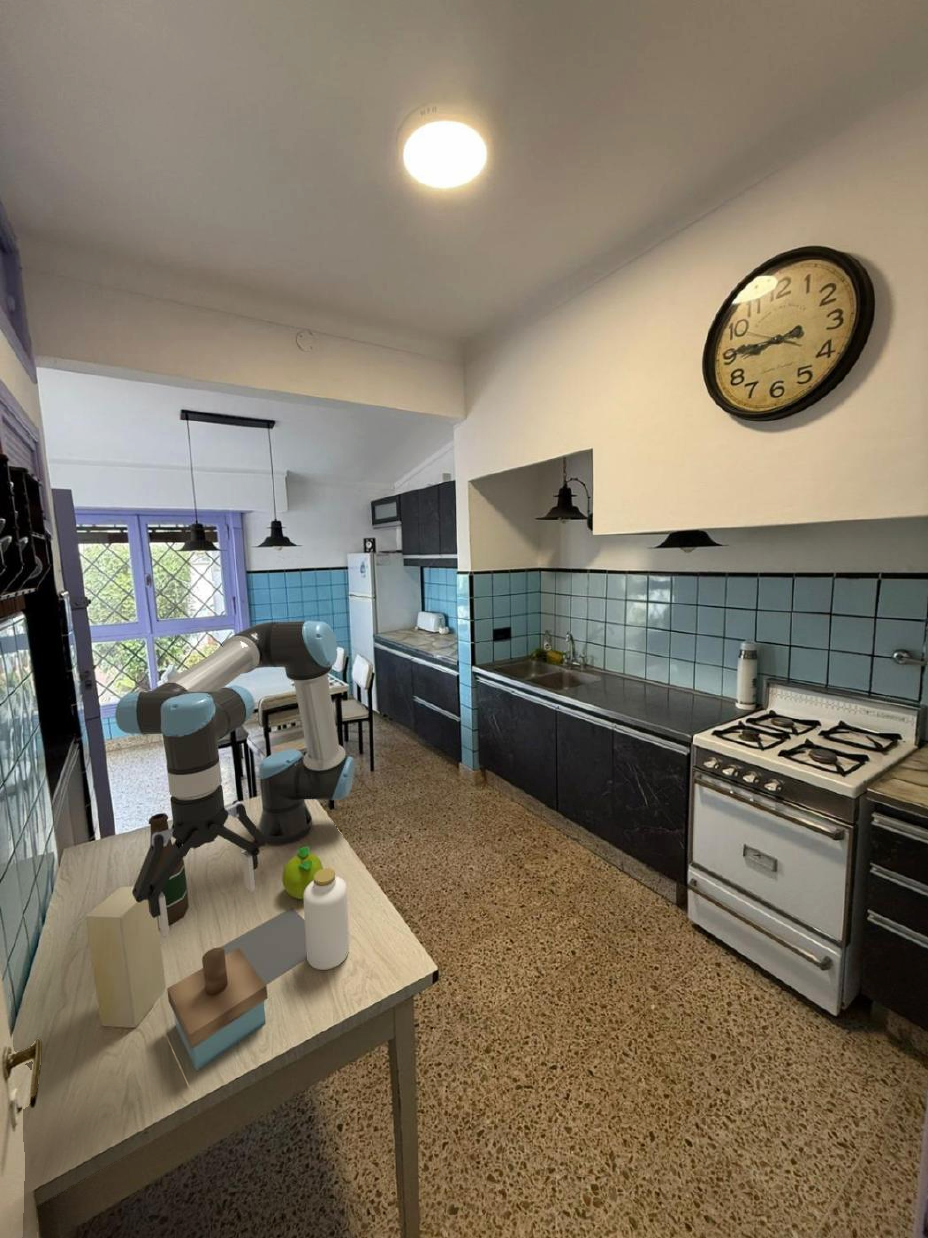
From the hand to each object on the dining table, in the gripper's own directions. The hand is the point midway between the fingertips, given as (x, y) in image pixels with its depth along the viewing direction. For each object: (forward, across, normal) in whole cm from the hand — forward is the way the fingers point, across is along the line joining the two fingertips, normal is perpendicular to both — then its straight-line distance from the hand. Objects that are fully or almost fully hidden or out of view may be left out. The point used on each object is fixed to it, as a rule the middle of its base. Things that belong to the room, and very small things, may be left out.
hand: (209, 908), depth 84 cm
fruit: (+22, -26, -19) cm, 39 cm away
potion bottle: (+22, -20, +1) cm, 29 cm away
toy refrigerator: (+22, +10, -15) cm, 28 cm away
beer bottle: (+22, -2, -36) cm, 42 cm away
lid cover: (+16, 0, +1) cm, 17 cm away
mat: (+22, -14, -9) cm, 27 cm away
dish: (+22, +1, +1) cm, 22 cm away
